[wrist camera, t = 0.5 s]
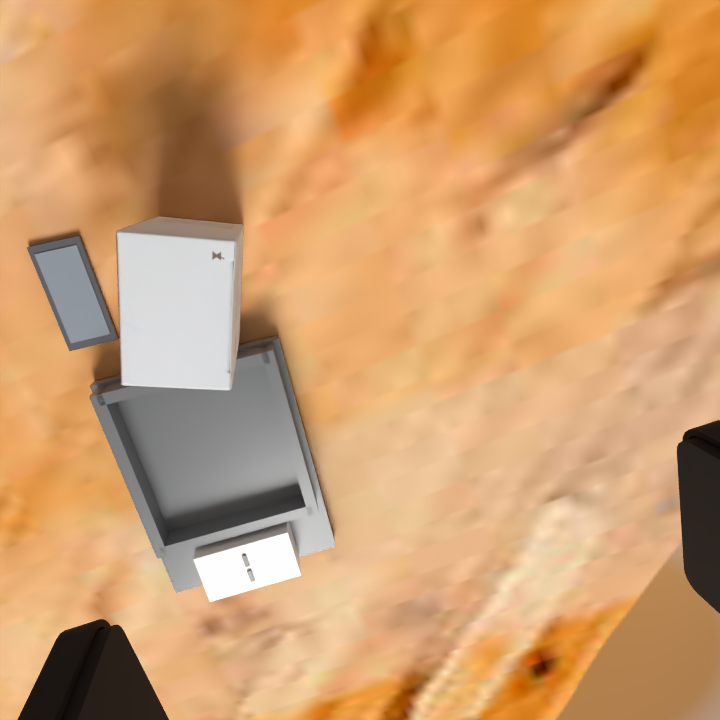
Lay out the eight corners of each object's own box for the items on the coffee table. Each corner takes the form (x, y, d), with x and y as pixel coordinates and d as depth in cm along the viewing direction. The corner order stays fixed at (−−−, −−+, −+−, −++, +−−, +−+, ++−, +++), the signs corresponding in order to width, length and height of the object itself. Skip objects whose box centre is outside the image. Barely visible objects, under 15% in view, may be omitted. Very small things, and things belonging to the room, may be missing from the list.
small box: (157, 214, 34) (113, 224, 24) (246, 223, 35) (237, 236, 25) (157, 334, 37) (117, 388, 27) (240, 339, 38) (231, 393, 28)
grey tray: (94, 381, 37) (77, 400, 33) (278, 334, 38) (279, 348, 35) (178, 583, 43) (170, 617, 39) (334, 538, 44) (339, 567, 41)
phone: (32, 246, 34) (26, 247, 33) (83, 234, 34) (78, 236, 33) (74, 347, 36) (69, 351, 35) (121, 335, 37) (117, 339, 36)
